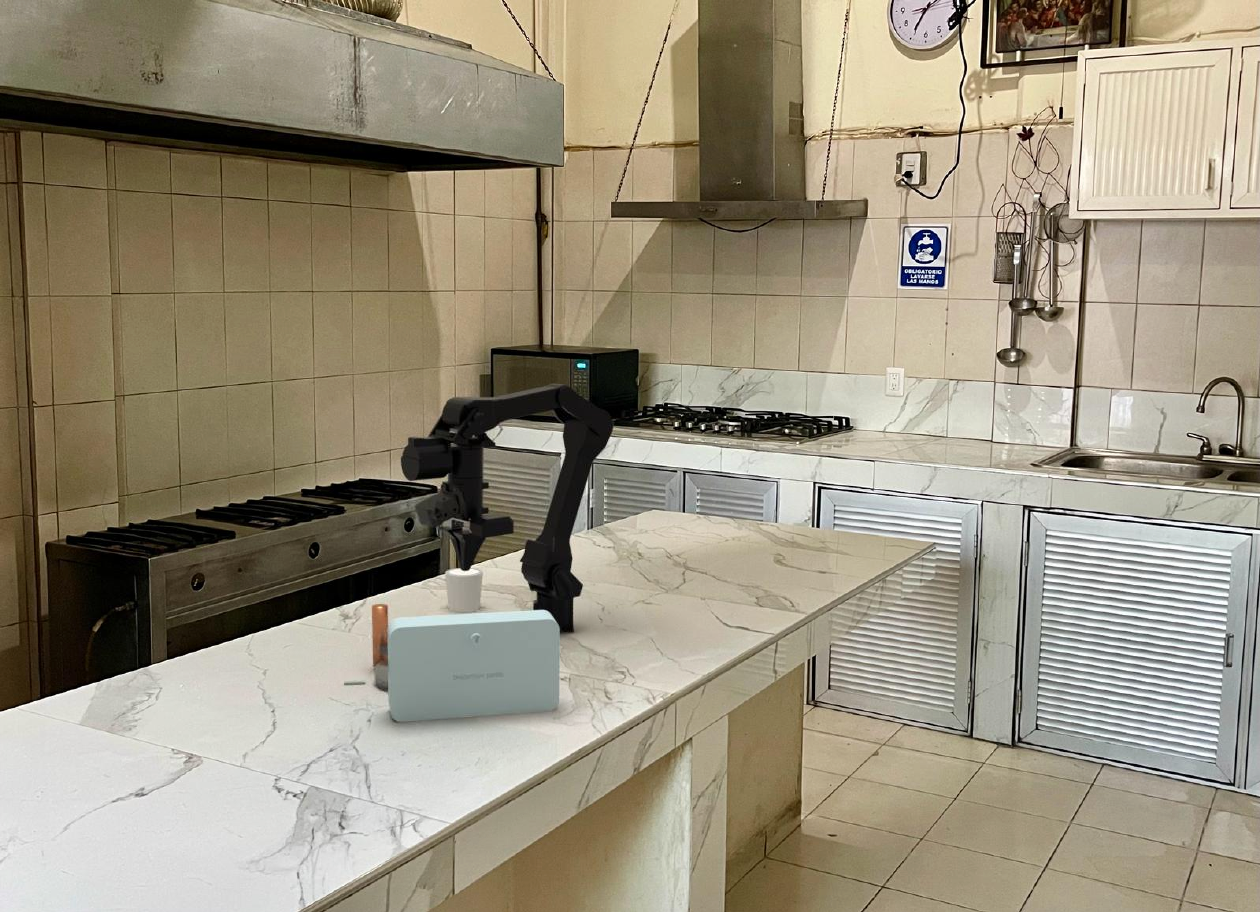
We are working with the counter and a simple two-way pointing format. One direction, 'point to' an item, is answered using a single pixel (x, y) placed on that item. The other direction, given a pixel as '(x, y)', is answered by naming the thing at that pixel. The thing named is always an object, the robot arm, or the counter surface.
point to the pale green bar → (354, 682)
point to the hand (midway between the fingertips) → (465, 570)
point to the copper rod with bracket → (379, 632)
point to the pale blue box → (473, 665)
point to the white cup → (464, 589)
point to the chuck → (382, 675)
